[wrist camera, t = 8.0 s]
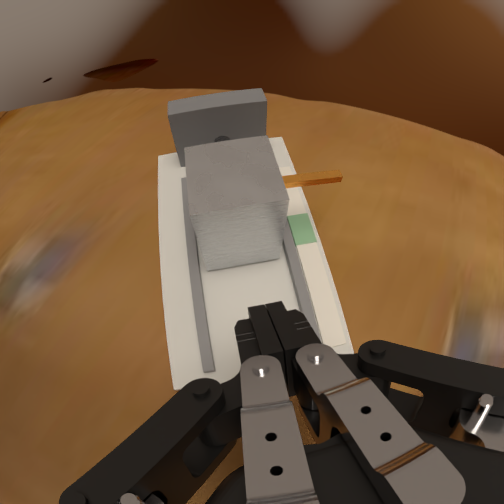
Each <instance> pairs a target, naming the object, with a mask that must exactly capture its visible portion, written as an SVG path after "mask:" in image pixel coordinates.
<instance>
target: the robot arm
mask: <svg viewBox="0 0 504 504" xmlns="http://www.w3.org/2000/svg"><path fill="white" fill-rule="evenodd" d="M248 315H249V319H243V320H238V321H237V323H236V325H235V327H234V330H235V335H236V340H237V346H238V351H239V356H240V361H241V367H240V371H239V373H238V374H237V375H236V376H235V377H234V378H232V379H230V380H228V381H226V382H224V383H221V384H220V383H219V382H218V381H216V380H214V379H211V378H199V379H195V380H193V381H191V382H189V383H187V384H186V385H185V386H184V387H183V388H182V389H181V390H180V391H179V392H177V393H176V394H175V395H174V396H173V397H172V398H171V399H170V400H169V401H168V402H167V403H166V404H165V405H163V406H162V407H161V408H160V409H159V410H158V411H157V412H156V413H155V414H154V415H153V416H151V417H150V418H149V419H148V420H147V421H146V422H145V423H144V424H143V425H141V426H140V427H139V428H138V429H137V430H136V431H135V432H134V433H132V434H131V435H130V436H129V437H128V438H127V439H126V440H124V441H123V442H122V443H121V444H120V445H119V446H117V447H116V448H115V449H114V450H113V451H112V452H111V453H109V454H108V455H107V456H106V457H105V458H103V459H102V460H101V461H100V462H99V463H97V464H96V465H95V466H94V467H93V468H91V469H90V470H89V471H88V472H87V473H85V474H84V475H83V476H82V477H80V478H79V479H78V480H77V481H76V482H74V483H73V484H72V485H71V486H69V487H68V488H67V489H66V490H65V491H64V492H63V493H62V495H61V496H60V499H59V504H186V503H187V501H188V500H189V499H190V498H191V497H192V496H193V495H194V494H195V493H196V491H197V490H198V489H199V488H200V487H201V486H202V485H203V483H204V482H205V481H206V480H207V479H208V478H209V476H210V475H211V474H212V473H213V472H214V470H215V469H216V468H217V467H218V466H219V464H220V463H221V462H222V461H223V459H224V458H225V457H226V456H227V454H228V453H229V452H230V451H231V449H232V448H233V447H234V445H235V444H236V441H237V439H238V438H240V437H242V443H243V457H244V465H243V466H241V467H240V468H238V469H236V470H235V471H233V472H232V473H231V474H230V475H228V476H227V477H226V478H225V479H224V480H223V481H222V482H221V484H220V485H219V486H218V487H217V489H216V490H215V491H214V493H213V494H212V495H211V497H210V498H209V499H208V500H207V502H206V503H205V504H504V368H499V367H494V366H489V365H484V364H479V363H475V362H470V361H465V360H461V359H456V358H452V357H448V356H443V355H439V354H435V353H431V352H427V351H423V350H419V349H415V348H411V347H407V346H403V345H399V344H395V343H391V342H387V341H383V340H372V341H368V342H366V343H364V344H362V345H361V346H360V348H359V350H358V353H356V354H337V353H336V352H335V351H334V350H333V349H332V348H331V347H330V346H328V345H325V344H322V343H321V341H320V339H319V338H318V336H317V335H316V333H315V331H314V330H313V328H312V327H311V325H310V323H309V322H308V320H307V318H306V317H305V315H304V314H303V313H301V312H300V311H298V310H296V309H294V310H289V311H287V310H286V308H285V306H284V304H283V302H282V301H278V302H273V303H267V304H265V305H264V304H263V305H257V306H252V307H248ZM391 382H394V383H398V384H401V385H404V386H408V387H411V388H415V389H418V390H420V391H421V392H422V393H423V395H424V396H423V397H419V396H416V395H412V394H409V393H405V392H402V391H399V390H395V389H392V388H390V385H391ZM288 395H289V396H288ZM295 395H296V396H297V398H298V403H299V411H300V413H301V415H302V417H303V419H304V421H305V423H306V425H307V427H308V429H309V431H310V433H311V435H312V437H313V438H314V440H315V442H316V444H311V445H303V443H302V439H301V435H300V431H299V427H298V423H297V419H296V415H295V411H294V407H293V404H292V401H290V400H289V397H291V396H295Z"/></svg>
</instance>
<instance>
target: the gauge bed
mask: <svg viewBox="0 0 504 504" xmlns="http://www.w3.org/2000/svg"><path fill="white" fill-rule="evenodd" d="M266 118H267V99H266V97H265V95H264V93H263V91H262V89H261V88H259V89H248V90H238V91H230V92H222V93H215V94H208V95H202V96H196V97H190V98H184V99H179V100H174V101H169V102H168V119H169V123H170V127H171V131H172V135H173V139H174V143H175V147H176V150H177V152H176V153H171V154H166V155H161V156H158V220H159V247H160V266H161V281H162V294H163V306H164V316H165V326H166V335H167V344H168V352H169V359H170V367H171V374H172V381H173V387H174V390H181V389H182V388H183V387H184V386H185V385H186V384H187V383H189V382H191V381H193V380H195V379H199V378H211V379H214V380H216V381H218V382H219V383H220V384H221V383H224V382H226V381H228V380H230V379H232V378H234V377H235V376H236V375H237V374H238V373H239V371H240V367H241V361H240V356H239V351H238V346H237V340H236V335H235V330H234V327H235V325H236V323H237V321H238V320H243V319H249V315H248V307H252V306H257V305H263V304H264V305H265V304H267V303H273V302H278V301H282V302H283V304H284V306H285V308H286V310H287V311H289V310H294V309H296V310H298V311H300V312H301V313H303V314H304V315H305V317H306V318H307V320H308V322H309V323H310V325H311V327H312V328H313V330H314V331H315V333H316V335H317V336H318V338H319V339H320V341H321V343H322V344H325V345H328V346H330V347H331V348H332V349H333V350H334V351H335V352H336V353H337V354H354V351H353V347H352V344H351V340H350V336H349V333H348V329H347V326H346V322H345V319H344V315H343V312H342V308H341V305H340V301H339V298H338V295H337V291H336V288H335V285H334V282H333V278H332V275H331V272H330V269H329V266H328V263H327V260H326V256H325V253H324V250H323V247H322V244H321V241H320V238H319V235H318V233H317V230H316V227H315V224H314V221H313V218H312V215H311V212H310V210H309V207H308V204H307V201H306V199H305V196H304V193H303V190H302V188H301V187H294V188H286V190H287V193H288V196H289V199H290V200H289V206H288V212H287V218H286V224H285V230H284V235H283V241H282V247H281V253H280V258H279V259H273V260H268V261H262V262H256V263H251V264H245V265H239V266H233V267H228V268H222V269H216V270H210V271H207V268H206V265H205V262H204V259H203V256H202V253H201V250H200V247H199V244H198V241H197V238H196V235H195V231H194V228H193V225H192V222H191V219H190V215H189V204H188V193H187V181H186V167H185V152H184V148H185V147H191V146H196V145H202V144H208V143H213V142H214V140H215V139H216V138H217V137H219V136H227V137H229V138H230V140H234V139H241V138H249V137H257V136H266ZM269 141H270V144H271V147H272V149H273V152H274V155H275V158H276V161H277V164H278V167H279V169H280V172H281V175H282V176H287V175H295V174H296V172H295V169H294V167H293V164H292V161H291V159H290V156H289V154H288V151H287V149H286V146H285V144H284V141H283V139H282V137H276V138H269Z"/></svg>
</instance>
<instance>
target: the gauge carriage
mask: <svg viewBox="0 0 504 504" xmlns="http://www.w3.org/2000/svg"><path fill="white" fill-rule="evenodd" d="M184 152H185V167H186V181H187V193H188V204H189V215H190V219H191V222H192V225H193V228H194V231H195V235H196V238H197V241H198V244H199V247H200V250H201V253H202V256H203V259H204V262H205V265H206V268H207V271H210V270H216V269H222V268H228V267H233V266H239V265H245V264H251V263H256V262H262V261H268V260H273V259H279V258H280V253H281V247H282V241H283V235H284V230H285V224H286V218H287V212H288V206H289V200H290V199H289V196H288V193H287V190H286V188H294V187H301V186H309V185H318V184H326V183H335V182H341V180H342V177H343V176H342V174H341V172H340V170H332V171H322V172H312V173H303V174H295V175H287V176H282V175H281V172H280V169H279V167H278V164H277V161H276V158H275V155H274V152H273V149H272V147H271V144H270V141H269V138H268V136H267V135H266V136H257V137H249V138H241V139H234V140H230V138H229V137H227V136H219V137H217V138H216V139H215V140H214V142H213V143H208V144H202V145H196V146H191V147H185V148H184Z"/></svg>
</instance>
